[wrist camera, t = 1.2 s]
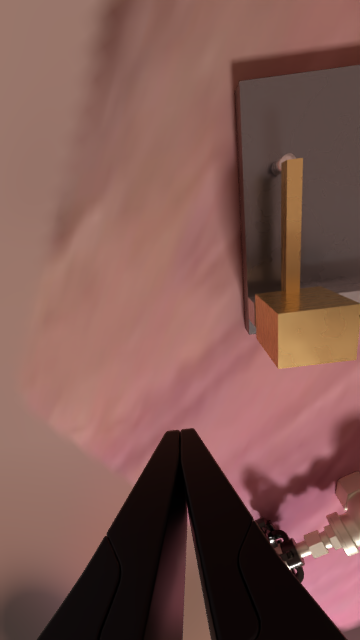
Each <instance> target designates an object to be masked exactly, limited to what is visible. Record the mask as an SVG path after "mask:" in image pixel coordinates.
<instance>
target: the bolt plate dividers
mask: <svg viewBox="0 0 360 640" xmlns="http://www.w3.org/2000/svg"><path fill="white" fill-rule="evenodd" d="M235 106H236V129H237V151H238V174H239V196H240V219H241V241H242V264H243V286H244V309H245V329H246V330H247V332H248V333H249V334H256V304H255V294H259V293H267V292H275V291H281V175H274V174H273V173H272V170H271V167H272V164H273V163H274V162H275V161H276V160H278V159H280V158H281V157H283V156H285V155H286V154H293V155H294V156H295V157H296V159H297V158H303V177H302V218H301V259H300V288H308V287H316V286H321V287H324V288H326V289H328V290H331V291H333V292H335V293H338V294H340V295H342V296H344V297H347V298H349V299H351V300H354V301H356V302H358V303H360V65H354V66H347V67H339V68H332V69H325V70H318V71H310V72H303V73H296V74H288V75H281V76H274V77H266V78H259V79H252V80H245V81H239V83H238V85H237V87H236V90H235Z"/></svg>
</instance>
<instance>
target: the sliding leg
mask: <svg viewBox="0 0 360 640" xmlns="http://www.w3.org/2000/svg"><path fill="white" fill-rule="evenodd" d="M271 170H272V173H273V174H274V175H281V291H275V292H267V293H259V294H255V304H256V337H257V340H258V341H259V343H260V344H261V345H262V347H263V348H264V350H265V351H266V352H267V354H268V355H269V357H270V358H271V359H272V361H273V362H274V364H275V365H276V366H277V368H278V369H281V368H289V367H298V366H307V365H316V364H324V363H333V362H342V361H350V360H356V357H357V347H358V337H359V327H360V303H358V302H356V301H354V300H351V299H349V298H347V297H344V296H342V295H340V294H338V293H335V292H333V291H331V290H328V289H326V288H324V287H321V286H316V287H308V288H300V259H301V218H302V177H303V158H297V159H296V157H295V156H294V155H293V154H286V155H285V156H283V157H281V158H280V159H278V160H276V161H275V162H274V163H273V164H272V167H271Z"/></svg>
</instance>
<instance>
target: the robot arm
mask: <svg viewBox="0 0 360 640" xmlns="http://www.w3.org/2000/svg"><path fill="white" fill-rule="evenodd" d="M187 507H188V514H189V520H190V526H191V532H192V537H193V542H194V548H195V554H196V559H197V565H198V570H199V575H200V581H201V586H202V592H203V598H204V603H205V609H206V614H207V620H208V625H209V631H210V636H211V640H347V639H346V638H345V636H344V635H343V634H342V633H341V631H340V630H339V629H338V628H337V626H336V625H335V624H334V623H333V622H332V620H331V619H330V618H329V617H328V616H327V614H326V613H325V612H324V611H323V610H322V608H321V607H320V606H319V605H318V603H317V602H316V601H315V600H314V599H313V597H312V596H311V595H310V594H309V593H308V591H307V590H306V589H305V588H304V586H303V585H302V584H301V583H300V582H299V580H298V579H297V578H296V577H295V575H294V574H293V573H292V571H291V570H290V569H289V568H288V566H287V565H286V564H285V563H284V561H283V560H282V559H281V557H280V556H279V555H278V553H277V552H276V550H275V549H274V548H273V546H272V545H271V543H270V542H269V540H268V539H267V538H266V536H265V535H264V533H263V532H262V530H261V529H260V527H259V526H258V524H257V523H256V521H254V519H253V517H252V515H251V514H250V512H249V511H248V509H247V508H246V506H245V505H244V503H243V502H242V500H241V499H240V497H239V496H238V494H237V493H236V491H235V490H234V488H233V487H232V485H231V484H230V482H229V481H228V479H227V478H226V476H225V475H224V473H223V471H222V470H221V468H220V467H219V465H218V464H217V462H216V461H215V459H214V458H213V456H212V455H211V453H210V452H209V450H208V449H207V447H206V446H205V444H204V443H203V441H202V440H201V438H200V437H199V435H198V434H197V432H196V431H195V429H193V428H190V429H182V430H181V432H180V431H179V430H172V431H167V432H166V433H165V434H164V436H163V438H162V440H161V441H160V443H159V445H158V446H157V448H156V450H155V451H154V453H153V455H152V457H151V458H150V460H149V462H148V463H147V465H146V467H145V469H144V470H143V472H142V474H141V475H140V477H139V479H138V481H137V482H136V484H135V486H134V487H133V489H132V491H131V493H130V494H129V496H128V498H127V499H126V501H125V503H124V505H123V506H122V508H121V510H120V511H119V513H118V515H117V516H116V518H115V520H114V522H113V523H112V525H111V527H110V528H109V530H108V532H107V536H105V537H104V538H103V540H102V542H101V544H100V545H99V547H98V549H97V551H96V552H95V554H94V555H93V557H92V559H91V560H90V562H89V563H88V565H87V567H86V568H85V570H84V572H83V573H82V575H81V576H80V578H79V579H78V581H77V582H76V584H75V585H74V587H73V588H72V590H71V591H70V593H69V594H68V596H67V597H66V598H65V600H64V601H63V603H62V604H61V606H60V607H59V609H58V610H57V611H56V613H55V614H54V616H53V617H52V619H51V620H50V621H49V623H48V624H47V626H46V627H45V628H44V630H43V631H42V633H41V634H40V636H39V637H38V638H37V640H182V639H183V616H184V589H185V566H186V540H187Z"/></svg>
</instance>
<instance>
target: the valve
mask: <svg viewBox="0 0 360 640" xmlns="http://www.w3.org/2000/svg"><path fill="white" fill-rule="evenodd" d="M336 496H337V498H338V499H339V501H340V503H341V504H342V506H343V508H344V509H345V510H347V512H346V513H344V514H342V515H338V514H337V512H334V513H332V514H329V515H327V516H326V517H327V520H328V522H329V524H330V525H328V526H325V527H324V531H323V532H321V533H319V532H318V530H316V531H313V532H311V533H308V534H306V535H304V539H305V541H302V542H300V543H297V544H296V542H295V540H294V539H293V538H289V537H288V535H287V534H286V533H285V532H284V531H282V530H279V529H278V530H275V529H274V526H273V524H272V523H271V521H270V520H268V521H266V519H265V518H264V517H261V518H259V519H257V520H255V521H256V523H257V524H258V526H259V527H260V529H261V530H262V532H263V533H264V535H265V536H266V538H267V539H268V540H269V542H270V543H271V545H272V546H273V548H274V549H275V550H276V552H277V553H278V555H279V556H280V557H281V559H282V560H283V561H284V563H285V564H286V565H287V566H288V568H289V569H290V570H291V571H292V573H293V574H294V575H295V577H296V578H297V579H298V580H299V582H300V583H301V582H302V581H303V578H304V571H303V567H302V566H303V565H305V563H304V559H303V557H305V556H308V555H310V554H312V556H313V557H314V558H317V557H320V556H322V555H325V554H327V553H329V551H328V548H331V547H334V548H335V550H337V549H340V548H343V549H344V551H345V553H346V554H347V556H351V555H354V554H356V553H359V550H358V547H359V546H360V472H358V471H357V472H354V473H351V474H349V475H347V476H345V477H342V478H340V479H339V480H338V483H337V488H336ZM278 538H283V540H284V541H283V542H282V540H281V539H280V540H278V541H277V540H276V539H278ZM294 569H296V570H297V573H296V572H295V570H294Z"/></svg>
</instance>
